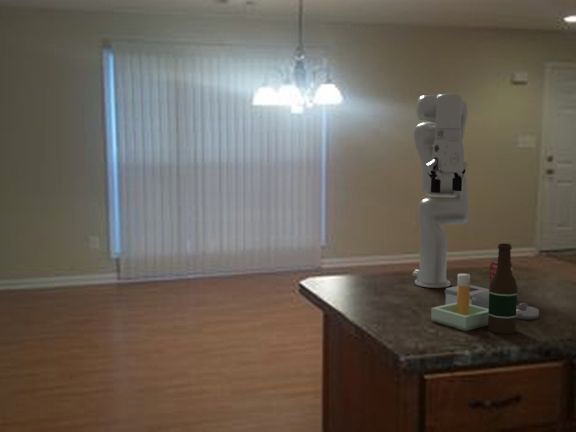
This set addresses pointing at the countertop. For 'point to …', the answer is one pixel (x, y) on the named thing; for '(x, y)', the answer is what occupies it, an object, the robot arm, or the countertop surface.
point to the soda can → (494, 267)
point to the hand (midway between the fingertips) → (446, 191)
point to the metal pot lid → (526, 312)
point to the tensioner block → (476, 296)
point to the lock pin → (463, 294)
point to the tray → (460, 316)
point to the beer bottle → (503, 295)
